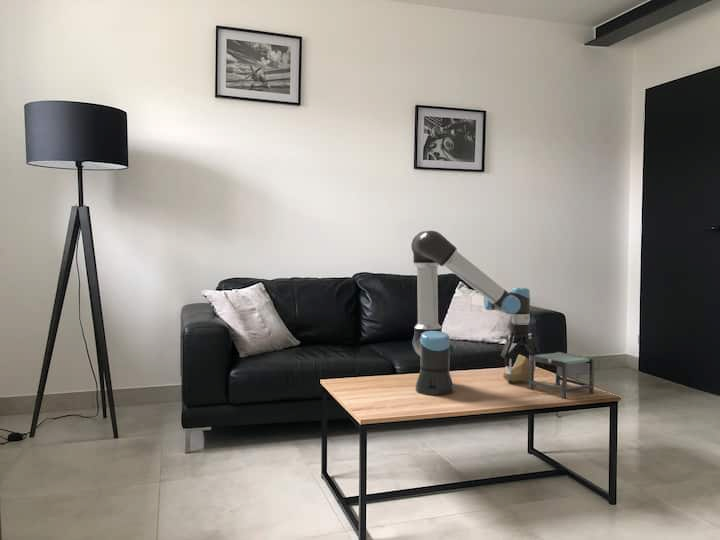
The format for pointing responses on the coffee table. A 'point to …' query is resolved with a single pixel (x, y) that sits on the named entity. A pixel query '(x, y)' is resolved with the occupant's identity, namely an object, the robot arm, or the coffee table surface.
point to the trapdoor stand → (564, 376)
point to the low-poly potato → (519, 370)
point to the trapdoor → (569, 363)
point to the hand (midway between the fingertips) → (520, 372)
